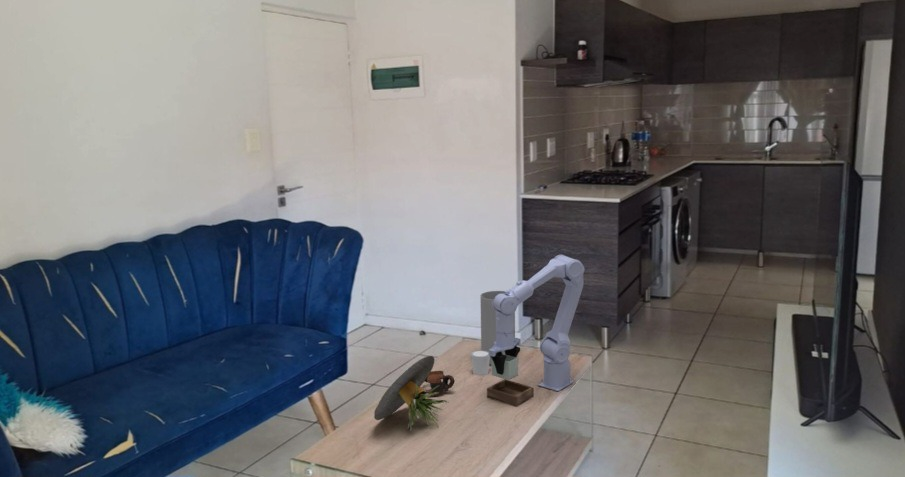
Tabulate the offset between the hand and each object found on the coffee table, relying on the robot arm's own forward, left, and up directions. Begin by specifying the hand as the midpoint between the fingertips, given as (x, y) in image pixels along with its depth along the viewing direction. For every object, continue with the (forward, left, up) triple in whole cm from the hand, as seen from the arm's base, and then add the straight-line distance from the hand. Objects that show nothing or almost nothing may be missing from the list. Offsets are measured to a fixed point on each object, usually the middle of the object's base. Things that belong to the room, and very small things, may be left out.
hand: (505, 371), depth 228 cm
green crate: (0, 0, -2) cm, 2 cm away
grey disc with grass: (+33, -10, -9) cm, 36 cm away
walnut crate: (0, +2, -8) cm, 9 cm away
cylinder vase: (-24, -21, -9) cm, 33 cm away
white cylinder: (-11, -19, -9) cm, 23 cm away
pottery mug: (+11, -20, -9) cm, 24 cm away
